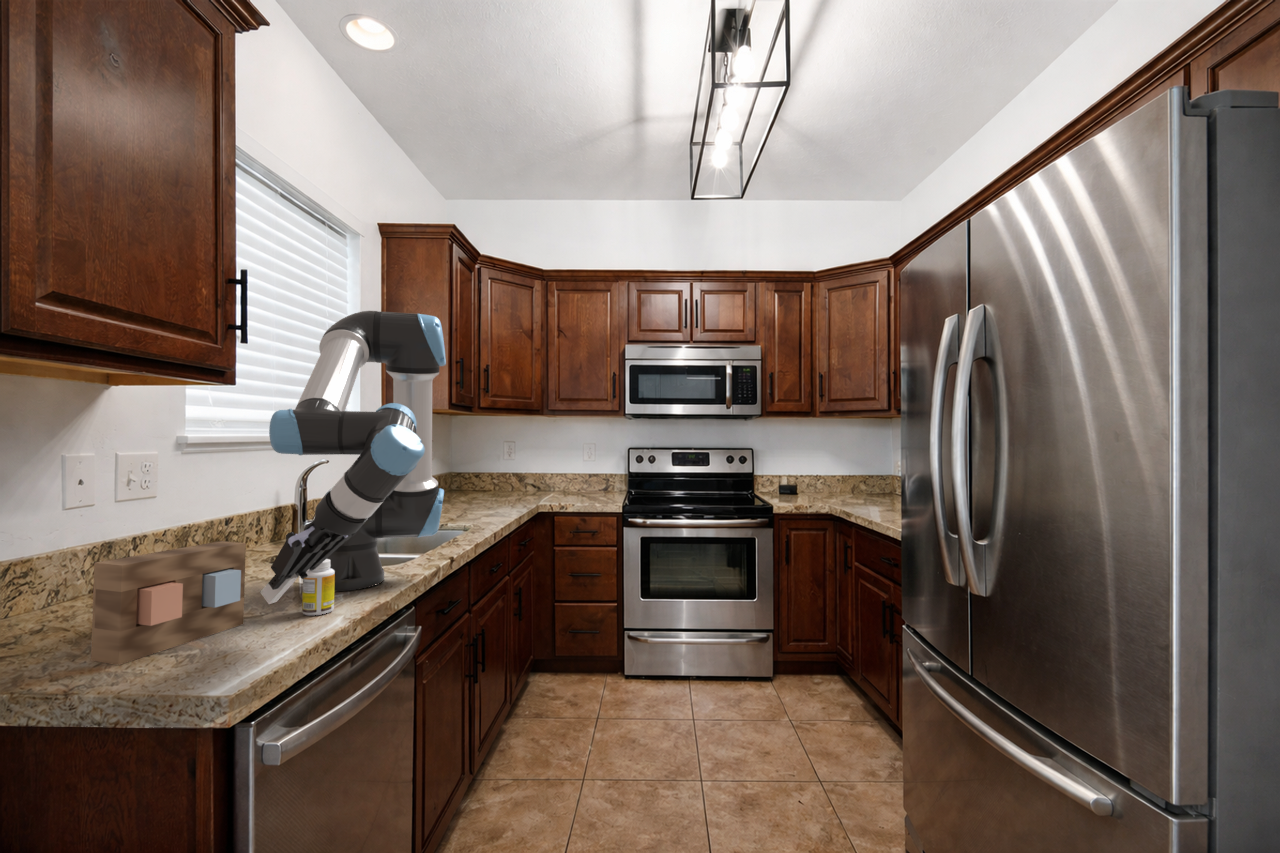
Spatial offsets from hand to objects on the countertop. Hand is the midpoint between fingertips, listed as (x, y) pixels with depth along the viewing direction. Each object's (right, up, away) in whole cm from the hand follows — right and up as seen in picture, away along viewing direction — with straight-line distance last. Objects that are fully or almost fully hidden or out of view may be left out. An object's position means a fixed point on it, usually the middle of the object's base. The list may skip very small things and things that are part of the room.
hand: (268, 596), depth 97 cm
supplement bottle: (0, -8, +15) cm, 17 cm away
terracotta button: (-15, -2, -6) cm, 16 cm away
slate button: (-12, -2, +3) cm, 13 cm away
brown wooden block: (-15, -7, -1) cm, 17 cm away
